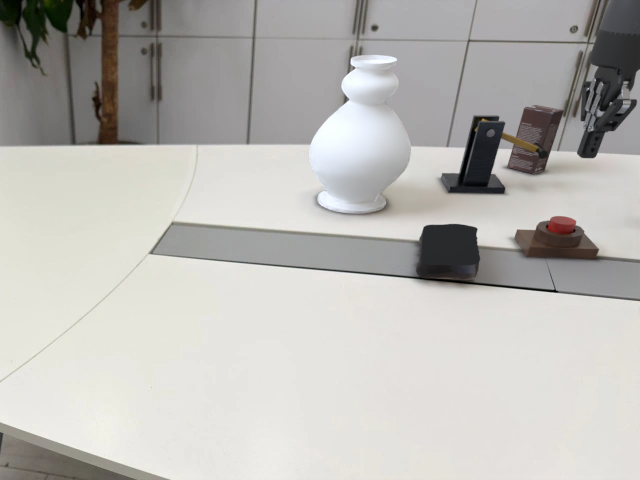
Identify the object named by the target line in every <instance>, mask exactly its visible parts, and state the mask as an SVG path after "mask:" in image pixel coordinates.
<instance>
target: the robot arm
mask: <svg viewBox="0 0 640 480" xmlns="http://www.w3.org/2000/svg"><path fill="white" fill-rule="evenodd" d="M588 62H589V63H590V65H592V66H595V67H597V69H596V70H595V72H594V74H593V75H594V76H593V78H592V79H591V80H585V81H584V82H583V83H582V88H581V103H580V104H581V105H580V122H583V126H582V127H583V129H584V131H583V134H582V137H581V138H580V139H581V140H580V142H579V145H578V148H577V151H576V154H577V155H578V156H579V157H580V159H595V158H596V157H597V156H598V152H599V150H600V148H601V145H602V142H603V140H604V138H605V134H606V133H609V132H615V131H616V130H617V129H618V128H619V127H620V125H621V124H622V123H623V122H624V121H625V120H626V119H627V118H628V116H629V115H630V114H631V113H632V112H633V111H634V109H635V108H636V107H637V105H638V100H637V99H636V98H630V97H631V96H630V95H631V92H632V91H633V88H634V86H635V81H636V75H637V72H639V71H640V0H609V1H608V3H607V5H606V7H605V10H604V13H603V16H602V19H601V22H600V25H599V27H598V31H597V34H596V37H595V40H594V43H593V46H592V49H591V52H590V54H589V58H588Z"/></svg>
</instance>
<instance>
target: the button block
mask: <svg viewBox="0 0 640 480" xmlns="http://www.w3.org/2000/svg"><path fill="white" fill-rule="evenodd" d="M549 222H550V220H544V221H540V222H539V223H538V224H537V225H536V227H535V229H516V232H515V235H514V241H515V242H516V243H517V245H518V247H519V248H520V249H521V251H522V252H523V254H524V255H525V256H526V257H527V258H550V259H551V258H552V259H553V258H555V259H579V260H580V259H582V260H583V259H584V260H596V258H597V256H598V253H599V251H600V248H599V247H598V246H597V245H596V243H594V242H593V241H592V240H591V238H589V236H588V235H586V233H585V230H584V229H583V228H582V226H579V225H577V224H576V225H575V228H574V230H573V233H570V234H561V233H556V232H552V231H550V230H548V229H547V227H548V224H549Z"/></svg>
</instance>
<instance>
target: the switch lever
mask: <svg viewBox="0 0 640 480" xmlns="http://www.w3.org/2000/svg"><path fill="white" fill-rule="evenodd" d="M481 121H488V120H485V119H482V120H481ZM476 130H477V128H476V129H475V131H476ZM501 140H504V141H506V142H509V143H511V144H513V145H514V144H515V145H518V146H520V147H523V148H525V149H527V150H530V151H532V152H534V153H535V154H536V155H537V156H538V157H539V158H540V159H543V158H545V157H546V156H547V155H548V152H547V151H546V150H545V149H544V148H543V147H542V146H541V145H540V144H539V143H533V144H531V143H528V142H526V141H523V140H521V139H519V138H516V136H514V135H512V134H509V133H506V132H504V131H503V133H502V137H501Z"/></svg>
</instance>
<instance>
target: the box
mask: <svg viewBox="0 0 640 480" xmlns="http://www.w3.org/2000/svg"><path fill="white" fill-rule="evenodd" d="M564 111H565V109H561V108H554V107H549V106H544V105H538V104H534V105H530V106H529V105H528V106H525V107H524V108H523V111H522V114H521V117H520V121H519V125H518V127H517V132H516V136H515V137H516V138H519V139H521V140H523V141H526V142H528V143H531V144H533V143H539V144H540V145H541V146H542V147H543V148H544V149H545V150H546V151H547V152H548V155H547V156H546V157H545V158H543V159H540V158H539V157H538V156H537V155H536V154H535V153H534V152H532V151H530V150H527V149H525V148H523V147H520V146H518V145H515V144H513V145H512V149H511V152H510V156H509V159H508V161H507V168H510V169H512V170H513V169H514V170H517V171H521V172H525V173H529V174H532V175H536V174H539V173H541V172H543V171H545V169H546V167H547V164H548V162H549V161H548V160H549V158H550V155H551V152H552V148H553V146H554V142H555V140H556V137H557V133H558V130H559V126H560V124H561V121H562V118H563V114H564Z"/></svg>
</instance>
